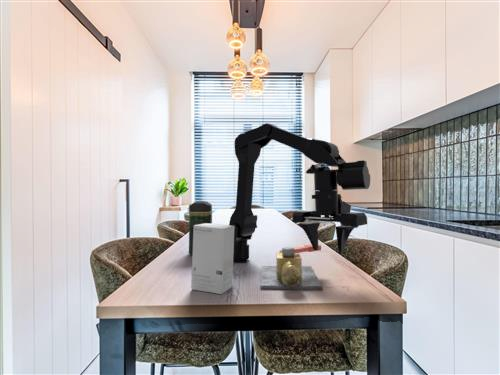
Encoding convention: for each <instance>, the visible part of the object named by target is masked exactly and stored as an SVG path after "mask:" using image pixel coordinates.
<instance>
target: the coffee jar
mask: <svg viewBox="0 0 500 375" xmlns="http://www.w3.org/2000/svg"><path fill="white" fill-rule="evenodd" d="M188 223H189V224H188V254H189V255H190V256H191V255H192V256H193V231H194V225H199V224H204V223H212V224H213V205H212V203H210V202H209V201H206V200H199V201H195V202H193V203H191V204H190V205H189V206H188Z"/></svg>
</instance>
